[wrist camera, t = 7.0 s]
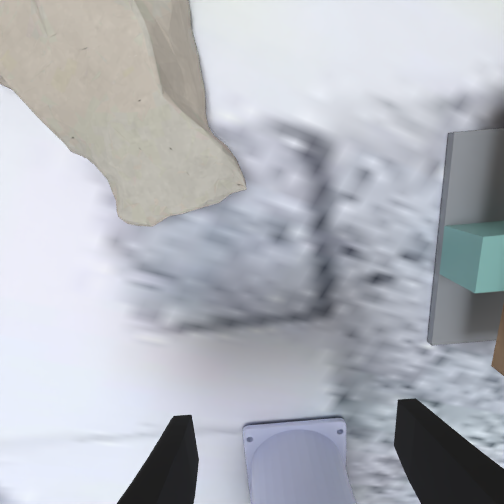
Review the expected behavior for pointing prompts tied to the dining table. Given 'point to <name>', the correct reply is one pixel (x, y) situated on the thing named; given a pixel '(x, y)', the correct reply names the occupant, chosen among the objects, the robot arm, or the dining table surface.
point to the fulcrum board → (467, 205)
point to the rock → (121, 98)
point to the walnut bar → (499, 347)
